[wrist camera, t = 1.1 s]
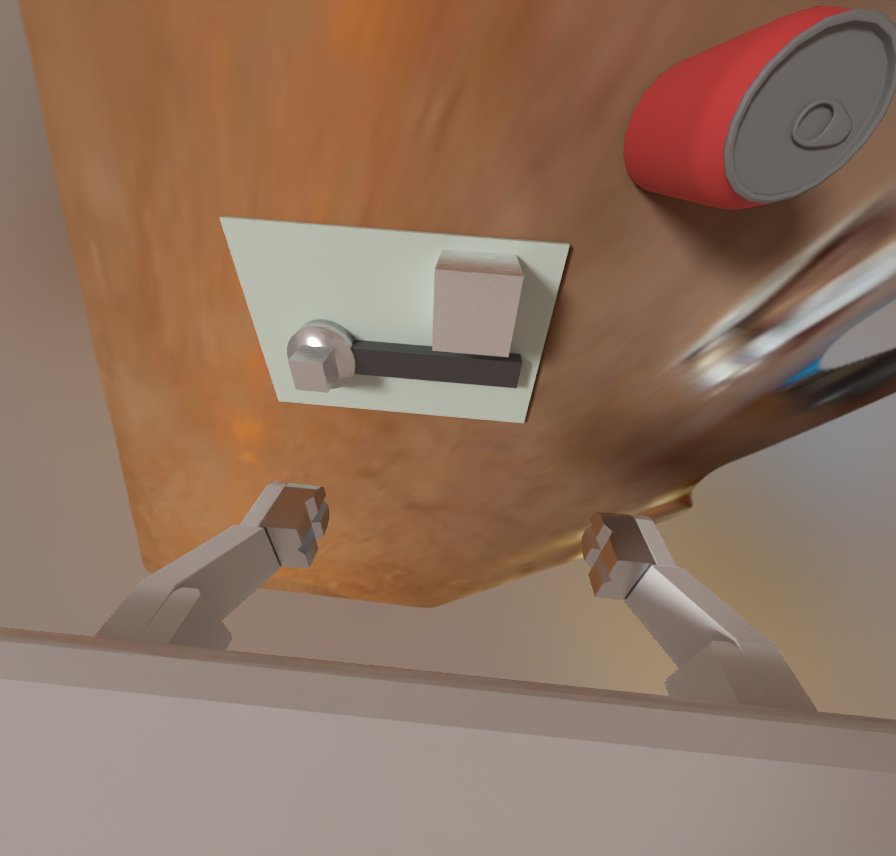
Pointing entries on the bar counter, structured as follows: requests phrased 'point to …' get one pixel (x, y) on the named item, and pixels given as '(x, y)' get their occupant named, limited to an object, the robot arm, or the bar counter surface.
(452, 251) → the grey box
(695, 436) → the bar counter surface
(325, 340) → the lever
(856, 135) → the beer can
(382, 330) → the mat
